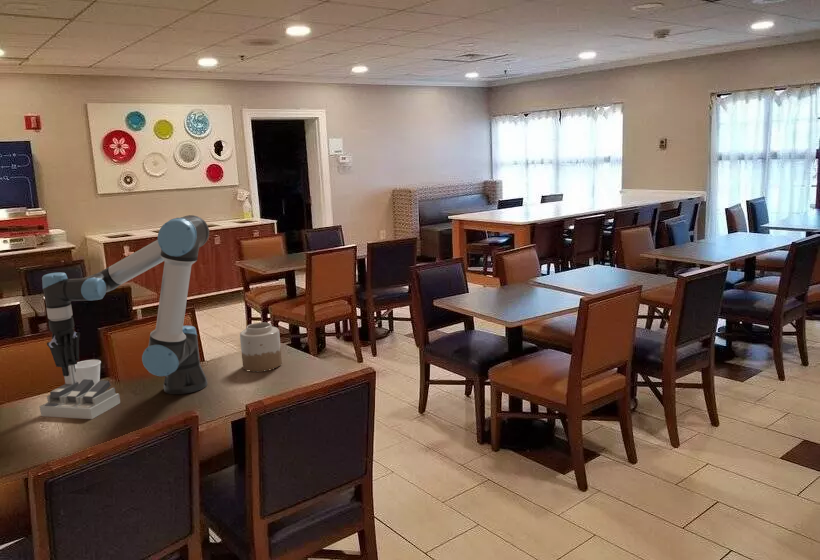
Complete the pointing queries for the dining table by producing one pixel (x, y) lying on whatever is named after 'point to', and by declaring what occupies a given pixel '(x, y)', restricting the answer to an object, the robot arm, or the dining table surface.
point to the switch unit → (80, 405)
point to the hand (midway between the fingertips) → (71, 383)
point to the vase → (260, 347)
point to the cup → (88, 371)
